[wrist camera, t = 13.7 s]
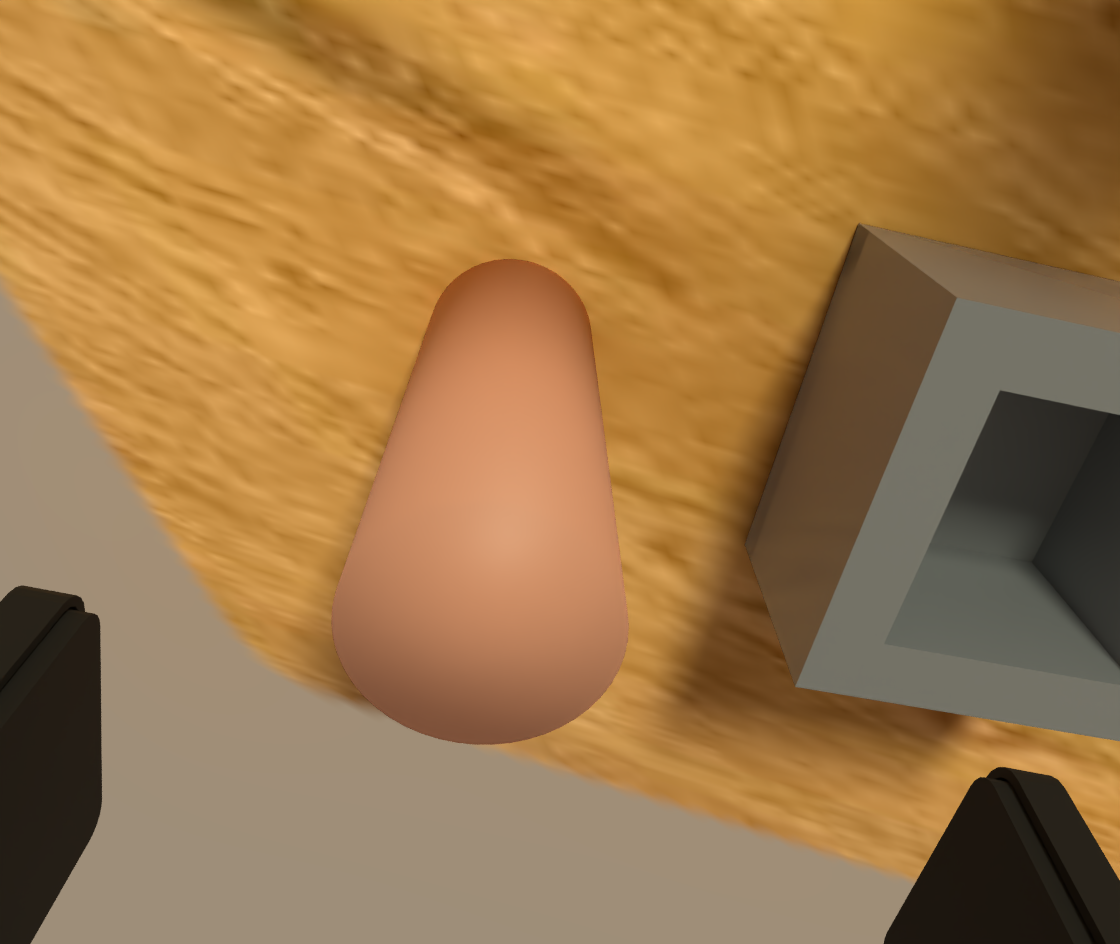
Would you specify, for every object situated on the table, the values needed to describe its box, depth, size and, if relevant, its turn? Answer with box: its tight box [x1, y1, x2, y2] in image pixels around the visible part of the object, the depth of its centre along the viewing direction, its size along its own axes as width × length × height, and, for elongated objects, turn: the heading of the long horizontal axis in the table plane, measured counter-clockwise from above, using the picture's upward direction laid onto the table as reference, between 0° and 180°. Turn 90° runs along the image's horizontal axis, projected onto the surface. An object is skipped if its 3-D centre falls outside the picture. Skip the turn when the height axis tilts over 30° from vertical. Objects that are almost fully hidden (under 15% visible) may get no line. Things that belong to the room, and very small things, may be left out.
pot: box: [745, 223, 1120, 741], centre depth 22 cm, size 9×9×6 cm
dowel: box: [332, 259, 629, 744], centre depth 18 cm, size 4×4×12 cm
